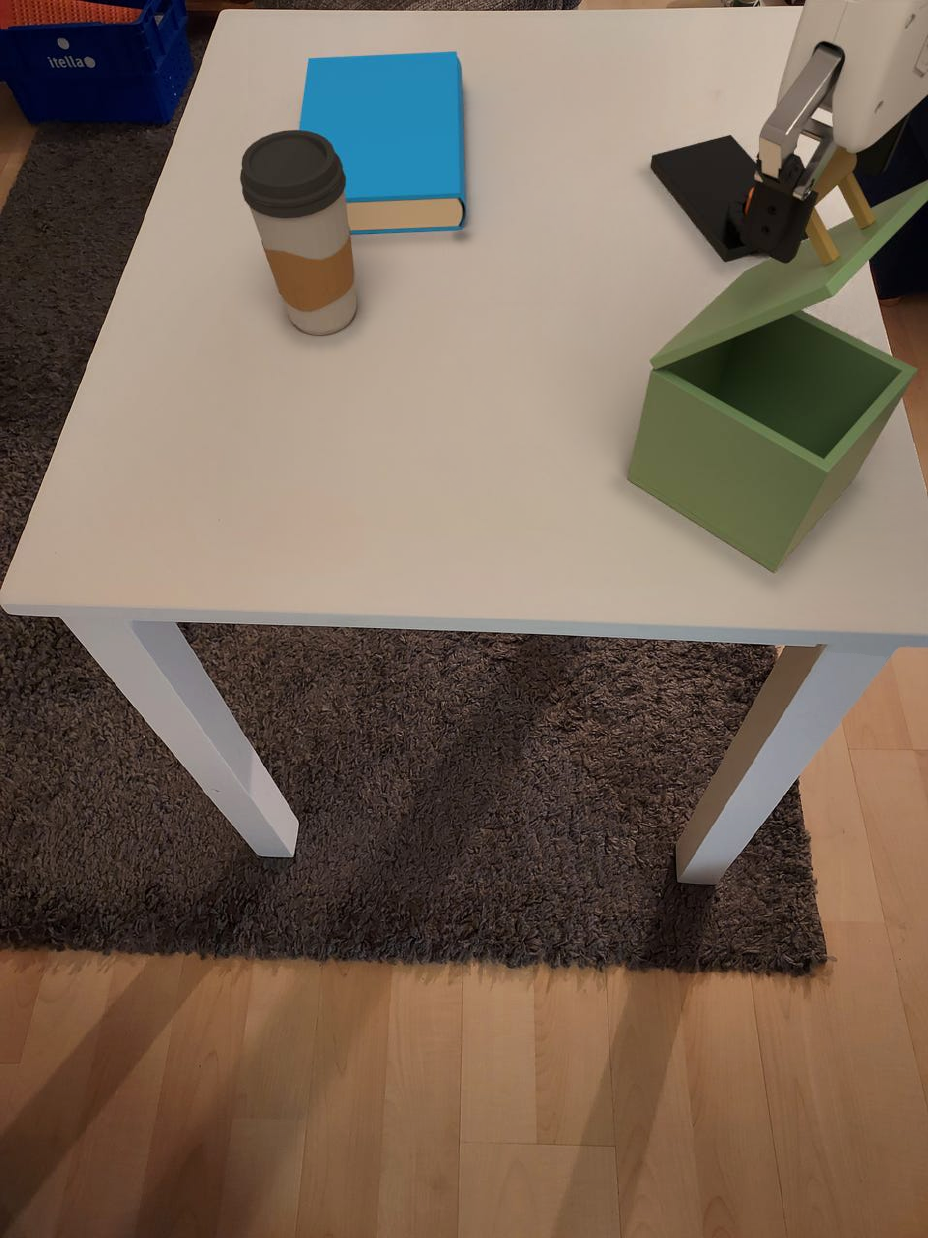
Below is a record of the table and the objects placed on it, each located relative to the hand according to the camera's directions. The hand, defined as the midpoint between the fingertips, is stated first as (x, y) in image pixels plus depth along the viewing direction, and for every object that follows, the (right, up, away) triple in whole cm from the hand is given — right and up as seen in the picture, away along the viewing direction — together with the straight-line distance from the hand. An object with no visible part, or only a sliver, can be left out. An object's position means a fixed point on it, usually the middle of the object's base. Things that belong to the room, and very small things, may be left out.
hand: (813, 206), depth 48 cm
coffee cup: (-33, +5, +31) cm, 45 cm away
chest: (+2, -12, +20) cm, 23 cm away
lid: (0, -3, +5) cm, 6 cm away
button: (+8, +15, +31) cm, 36 cm away
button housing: (+6, +18, +36) cm, 41 cm away
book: (-28, +26, +42) cm, 57 cm away
